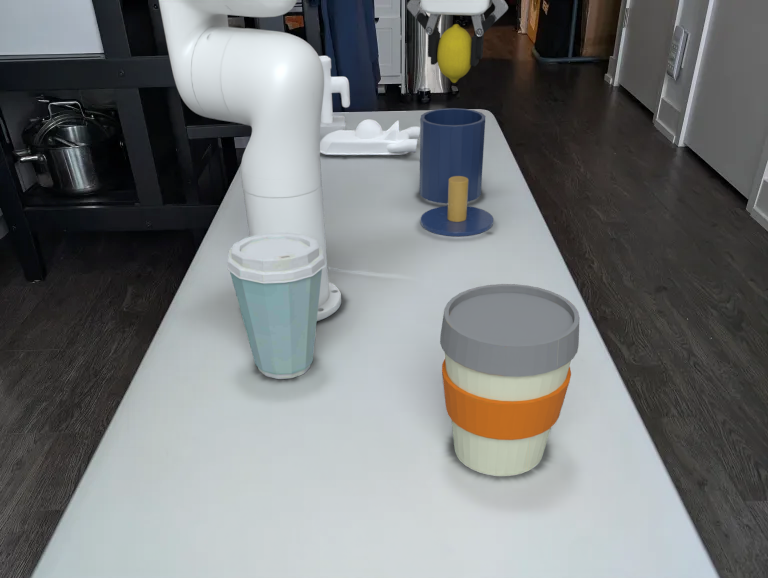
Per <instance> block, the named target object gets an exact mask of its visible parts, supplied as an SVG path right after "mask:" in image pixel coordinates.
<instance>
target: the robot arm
mask: <svg viewBox="0 0 768 578" xmlns="http://www.w3.org/2000/svg"><path fill="white" fill-rule="evenodd" d="M297 2H298V0H158V4H159V10H160V15H161V20H162V26H163V31H164V36H165V42H166V47H167V52H168V56H169V62H170V67H171V70H172V75H173V79H174V83H175V86H176V89H177V91H178V95H180V98H181V99H182V101H183V103H184V104H185V105H186V106H187V107H188V109H190V111H192V112H193V113H195V114H196V115H199V116H200V117H204V118H208V119H213V120H216V121H224V122H230V123H237V124H242V125H244V126H250V127H251V135H250V138H249V140H248V143H247V145H246V147H245V149H244V152H243V154H242V158H241V163H240V178H241V185H242V190H243V191H242V192H243V199H244V209H245V215H246V224H247V231H248V237H251V236H255V235H259V234H264V233H283V232H287V233H294V234H302V235H306V236H309V237H311V238H313V239H315V240H317V241H318V245H319V246H321V247H322V249H323V255H324V259H325V267H324V268H322V274H321V284H320V293H319V303H318V313H317V322H319V321H322V320H324V319H327V318H328V317H330V316H332V315H334V313H336V312H337V311H338V310H339V309H340V307H341V304H342V293H341V290H340V288H338V286H337V285H335V284H334V283H333V282H330V281H329V271H328V256H327V240H326V226H325V224H326V223H325V210H324V195H323V182H322V181H323V180H322V167H321V166H322V165H321V153H320V123H321V112H322V103H323V95H324V71H323V66H322V63H321V60H320V58H319V56H320V55H319V53H317V51H316V50H315V48H314V47H313V46H312V45H311V44H310V43H308V42H307V41H306V40H304V39H303V38H301V37H299V36H296V35H294V34H291V33H288V32H285V31H284V32H283V31H278V30H268V29H259V28H258V29H257V28H250V27H246V28H245V27H244V28H242V27H234V26H229V17H228V16H237V17H238V16H239V17H249V18H275V17H280V16H284V15H285V14H287V13H288V12H290V11H291V10H292V9H293V8H294V7H295V6H296V4H297ZM492 4H493V5H494V10H493V11H492V12H491V13H490V14H489V15H488V16H486V18H485V15H484V13H485V12H486V11H487V10H488V9H489V8H490V7H492ZM406 8H407V10H408V11H409V12H410V13H411V14H412V16H413V17H414V18H415V19H416V20H417V22H418V23H419V24H420V25H421V27H422V28H423V30H424V31H425V33H426V35H427V57H428V58H430V65H433V66H434V65H436V64H438V61H437V49H438V44H439V40H440V38H441V32H440V31H439V24H440V22H441V18H442V15H444V16H445V15H446V16H447V15H448V16H449V15H450V16H470V17H471V21H472V25H473V29H474V31H473V35H472V37H471V39H472V42H471V63H470V65H471V67H474V68H475V67H477V65H479V63H480V60H482V59H483V55H484V43H485V42H484V41H485V40H484V39H485V33H487V31H488V30H489V29H490V28H491V27H492V26H493V25H494V24H495V23H496V22H497V21H498V20H499V19H500V18H501V17H502V16H503V15H504V14H505V13H507V11H508V10H509V6H508V4H507V2H506V1H505V0H409V1H408V2H407V4H406ZM428 14H429V15H428Z"/></svg>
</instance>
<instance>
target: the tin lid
mask: <svg viewBox="0 0 768 578" xmlns="http://www.w3.org/2000/svg"><path fill="white" fill-rule="evenodd" d="M467 197H468V178H466V177H463V176H454V177H451V178H449V184H448V204H447V205H444V206H438V207H434V208H431V209H429V210H427V211H425V212H424V213H423V214H422V215H421V216H420V225H421V227H422V228H423V229H424V230H426V231H428V232H430V233H432V234H436V235H440V236H448V237H467V236H475V235H478V234H482V233H485V232H487V231H489V230H490V229H491V228H492V227H493V225H494V217H493V215H492V214H491V213H489V211H486V210H484V209H481V208H478V207H474V206H469V205H468V202H467Z"/></svg>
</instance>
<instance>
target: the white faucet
mask: <svg viewBox="0 0 768 578" xmlns="http://www.w3.org/2000/svg"><path fill="white" fill-rule="evenodd" d="M318 56H319V58H320V60H321V63H322V66H323V71H324V95H323V103H322V112H321V123H320V142H321V140H322V139H323V138H324V137H325V136H326V135H327V134H329V133H331V132H335V131H338V130H346V125H347V124H346V116H345V115H334V112H333V110H334V109H333V94H338V93H339V94H340V98H341V106H342V107H343V108H345V109H346V108H349V107H350V106H351V97H350V96H351V93H350V82H349V79H348V78H347V77H346V76H344V75H343V76H332V74H331V70H332V59H331V57H330V56H328V55H318Z"/></svg>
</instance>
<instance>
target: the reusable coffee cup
mask: <svg viewBox="0 0 768 578" xmlns="http://www.w3.org/2000/svg"><path fill="white" fill-rule="evenodd" d="M440 329H441V330H440V336H439V344H440V346H441V349H442V351H443V352H444V358H443V362H442V364H441V375H442V384H443V393H444V401H445V410H446V413H447V415H448V417H449V418H450V420H451V428H452V439H453V445H454V446H453V448H454V452H455V455H456V457H457V459H458V460H459V462H460V463H462V464H463V465H464V466H465V467H467V468H468V469H470V470H472V471H475V472H477V473H480V474H483V475H487V476H492V477H493V476H495V477H513V476H517V475H521V474H524V473H527V472H529V471H531V470H533V469H534V468H536V466H538V465H539V464H540V462H541V461H542V459H543V456H544V454H545V449H546V446H547V443H548V439H549V436H550V434H551V429H552V427H553V426H554V425H556V423H557V421H558V420H559V418H560V415H561V411H562V409H563V408H562V407H563V405H564V402H565V399H566V395H567V391H568V388H569V386H570V385H569V384H570V382H571V378H572V371H571V362H572V360H573V359H575V357H576V355H577V354H578V351H579V346H580V345H579V343H580V342H579V341H580V314H579V311H578V309H577V307H576V305H574V304H573V303H572V302H571V301H570V300H569V299H568V298H565V297H564V296H562V295H561V294H558V293H556V292H553V291H552V290H549V289H545V288H542V287H537V286H532V285H528V284H527V285H526V284H518V283H517V284H516V283H497V284H487V285H480V286H477V287H472V288H469V289H466V290H464V291H461V292H459V293H458V294H456V295H454V296H453V297H452V298H450V300H449V301H448V302H447V303H446V305H445V307H444V309H443V316H442V323H441V328H440Z"/></svg>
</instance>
